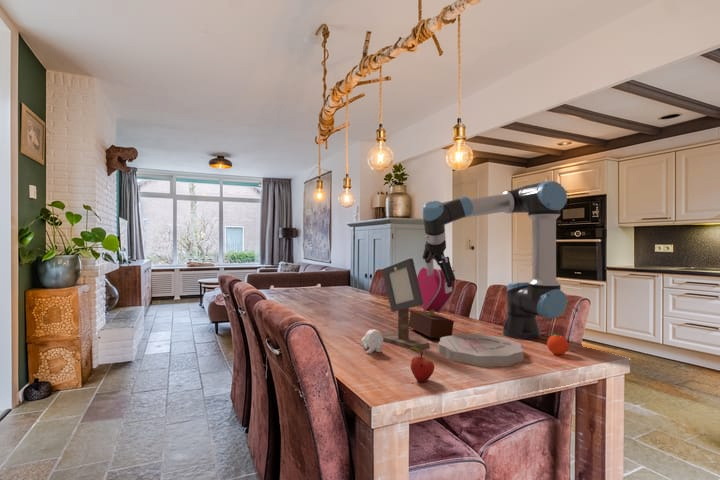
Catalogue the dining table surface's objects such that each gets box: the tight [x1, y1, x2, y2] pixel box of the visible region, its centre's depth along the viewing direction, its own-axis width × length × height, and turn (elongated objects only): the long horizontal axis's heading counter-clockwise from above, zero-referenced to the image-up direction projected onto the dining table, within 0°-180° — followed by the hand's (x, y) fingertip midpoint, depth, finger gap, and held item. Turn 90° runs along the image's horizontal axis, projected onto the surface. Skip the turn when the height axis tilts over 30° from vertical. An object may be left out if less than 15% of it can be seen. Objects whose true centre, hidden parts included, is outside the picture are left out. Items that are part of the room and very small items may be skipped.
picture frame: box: [382, 258, 424, 313], centre depth 150 cm, size 16×3×18 cm, turn 40°
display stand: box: [381, 308, 430, 351], centre depth 153 cm, size 22×8×32 cm, turn 40°
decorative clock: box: [409, 266, 457, 339], centre depth 167 cm, size 25×10×30 cm, turn 17°
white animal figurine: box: [360, 329, 384, 355], centre depth 142 cm, size 6×8×12 cm
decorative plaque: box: [437, 333, 524, 367], centre depth 139 cm, size 30×4×30 cm
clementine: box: [546, 334, 569, 356], centre depth 138 cm, size 8×7×7 cm
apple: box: [408, 347, 435, 383], centre depth 111 cm, size 8×7×10 cm
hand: (439, 283), depth 157 cm, fingers open, 13 cm apart
